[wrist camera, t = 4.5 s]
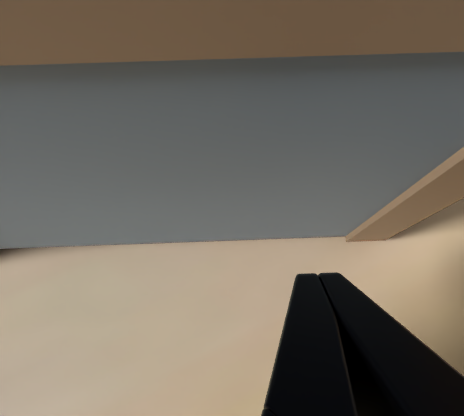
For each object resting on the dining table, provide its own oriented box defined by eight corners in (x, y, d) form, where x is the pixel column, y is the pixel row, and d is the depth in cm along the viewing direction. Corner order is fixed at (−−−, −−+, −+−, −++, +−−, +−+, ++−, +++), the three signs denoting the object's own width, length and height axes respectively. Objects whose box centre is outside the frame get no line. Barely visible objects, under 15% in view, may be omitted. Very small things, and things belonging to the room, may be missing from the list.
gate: (-15, 255, 15) (-1120, -56, 3) (-9, 200, 15) (-905, -262, 3) (385, 240, 15) (1034, -110, 3) (377, 187, 15) (896, -294, 3)
